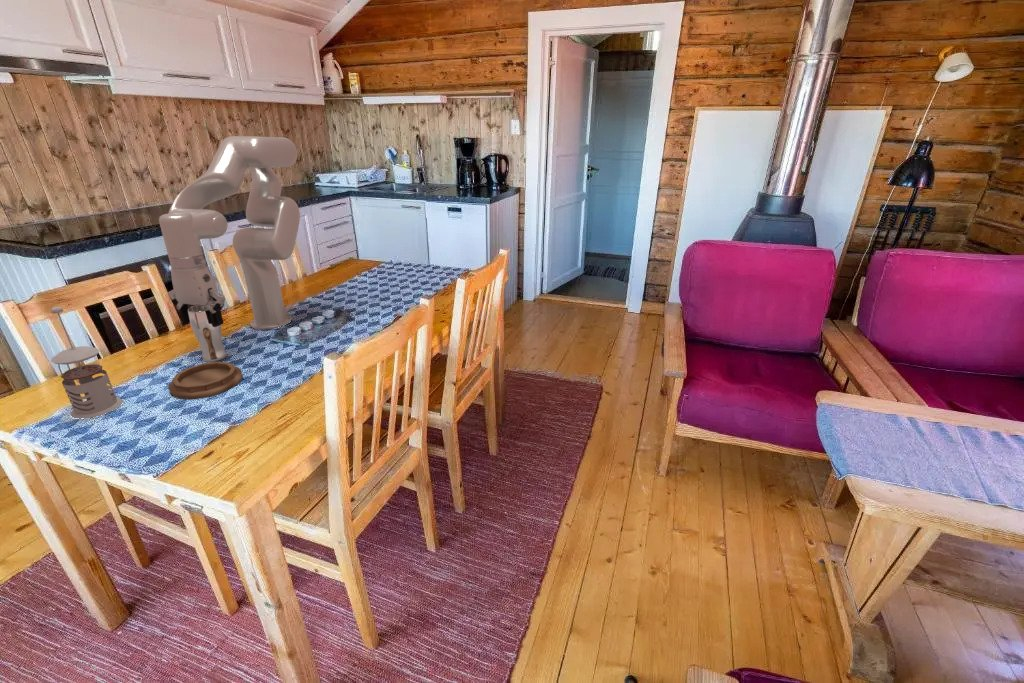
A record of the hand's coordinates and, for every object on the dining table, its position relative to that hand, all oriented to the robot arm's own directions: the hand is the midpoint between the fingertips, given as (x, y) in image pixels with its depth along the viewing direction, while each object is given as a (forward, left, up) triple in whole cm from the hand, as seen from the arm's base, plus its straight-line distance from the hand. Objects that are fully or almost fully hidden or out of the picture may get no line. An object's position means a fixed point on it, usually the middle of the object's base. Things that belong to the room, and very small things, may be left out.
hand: (203, 323), depth 129 cm
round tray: (+12, +10, -11) cm, 19 cm away
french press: (+28, -6, -11) cm, 31 cm away
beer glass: (-1, 0, -11) cm, 11 cm away
